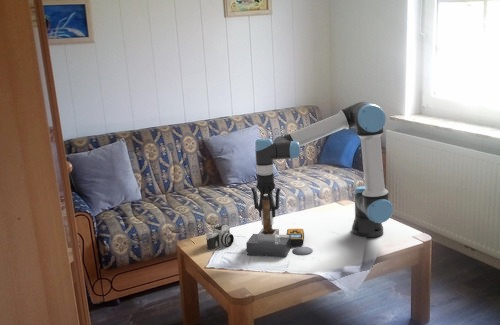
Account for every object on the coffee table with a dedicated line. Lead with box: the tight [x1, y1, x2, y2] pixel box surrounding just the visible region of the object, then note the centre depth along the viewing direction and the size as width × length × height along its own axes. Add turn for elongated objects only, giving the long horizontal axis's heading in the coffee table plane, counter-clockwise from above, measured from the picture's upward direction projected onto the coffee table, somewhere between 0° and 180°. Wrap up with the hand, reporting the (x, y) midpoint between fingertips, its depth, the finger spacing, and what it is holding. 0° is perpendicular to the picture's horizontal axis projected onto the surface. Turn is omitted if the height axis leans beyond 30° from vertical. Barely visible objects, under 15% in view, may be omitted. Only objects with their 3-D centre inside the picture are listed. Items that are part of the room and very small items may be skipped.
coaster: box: [292, 246, 314, 256], centre depth 239 cm, size 9×9×1 cm
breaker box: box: [245, 227, 292, 258], centre depth 241 cm, size 18×12×10 cm, turn 74°
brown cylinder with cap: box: [262, 194, 273, 234], centre depth 238 cm, size 4×4×18 cm
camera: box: [205, 224, 235, 252], centre depth 251 cm, size 16×9×10 cm, turn 145°
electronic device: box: [286, 228, 305, 247], centre depth 253 cm, size 8×16×3 cm, turn 175°
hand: (267, 223), depth 239 cm, fingers closed on brown cylinder with cap, 3 cm apart
